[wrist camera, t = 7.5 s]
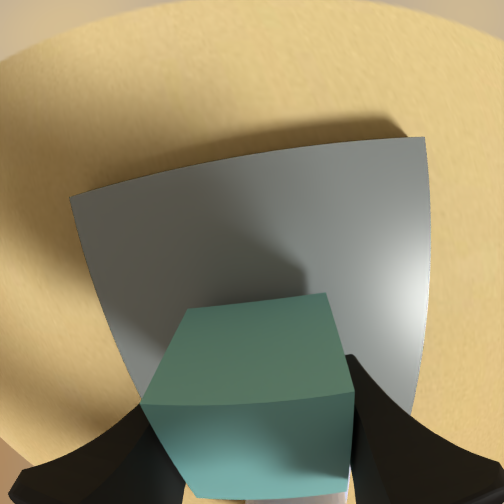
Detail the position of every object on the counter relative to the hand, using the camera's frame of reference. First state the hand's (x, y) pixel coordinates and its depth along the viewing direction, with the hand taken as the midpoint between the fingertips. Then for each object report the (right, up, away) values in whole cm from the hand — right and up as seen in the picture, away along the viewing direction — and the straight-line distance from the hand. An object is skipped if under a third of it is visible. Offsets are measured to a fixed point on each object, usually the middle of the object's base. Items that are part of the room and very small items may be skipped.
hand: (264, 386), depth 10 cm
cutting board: (0, +1, +4) cm, 4 cm away
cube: (0, +1, +1) cm, 2 cm away
